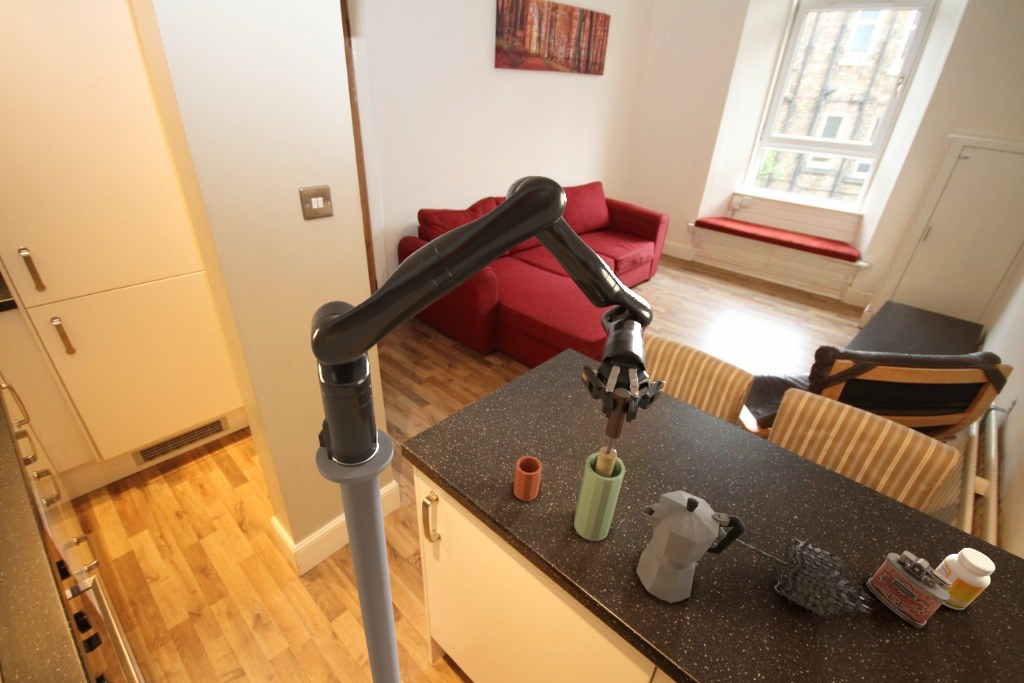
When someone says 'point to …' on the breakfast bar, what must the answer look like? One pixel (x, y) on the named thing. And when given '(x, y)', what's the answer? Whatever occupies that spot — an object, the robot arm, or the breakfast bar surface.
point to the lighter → (910, 587)
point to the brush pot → (527, 478)
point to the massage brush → (813, 578)
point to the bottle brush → (613, 433)
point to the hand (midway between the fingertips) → (619, 415)
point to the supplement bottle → (966, 576)
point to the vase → (597, 500)
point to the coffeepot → (681, 543)
